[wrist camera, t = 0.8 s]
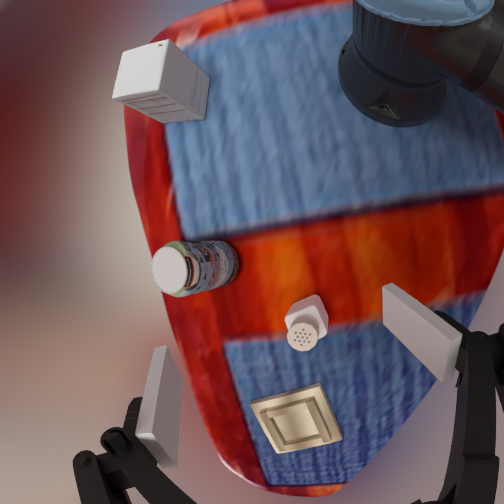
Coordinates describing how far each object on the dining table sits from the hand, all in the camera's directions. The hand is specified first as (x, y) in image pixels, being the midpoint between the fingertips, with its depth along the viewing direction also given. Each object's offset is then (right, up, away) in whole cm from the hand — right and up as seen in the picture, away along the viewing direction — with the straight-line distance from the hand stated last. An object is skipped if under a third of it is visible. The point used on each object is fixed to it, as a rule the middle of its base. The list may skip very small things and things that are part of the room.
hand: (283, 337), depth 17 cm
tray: (+5, -21, +23) cm, 32 cm away
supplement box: (-12, +28, +24) cm, 38 cm away
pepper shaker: (+6, -3, +22) cm, 23 cm away
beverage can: (-6, +4, +25) cm, 26 cm away
